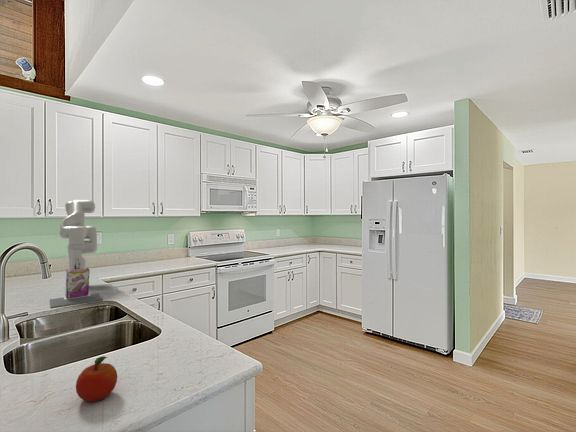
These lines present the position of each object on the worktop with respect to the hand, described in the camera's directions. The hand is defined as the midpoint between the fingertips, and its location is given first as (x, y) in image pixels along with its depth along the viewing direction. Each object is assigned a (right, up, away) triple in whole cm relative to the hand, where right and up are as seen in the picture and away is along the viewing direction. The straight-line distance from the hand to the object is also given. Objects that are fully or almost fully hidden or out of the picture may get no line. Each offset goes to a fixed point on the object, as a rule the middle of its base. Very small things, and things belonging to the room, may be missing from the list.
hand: (76, 277), depth 186 cm
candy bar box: (+2, -11, -2) cm, 11 cm away
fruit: (+78, -12, -104) cm, 130 cm away
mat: (+5, -12, -8) cm, 15 cm away
